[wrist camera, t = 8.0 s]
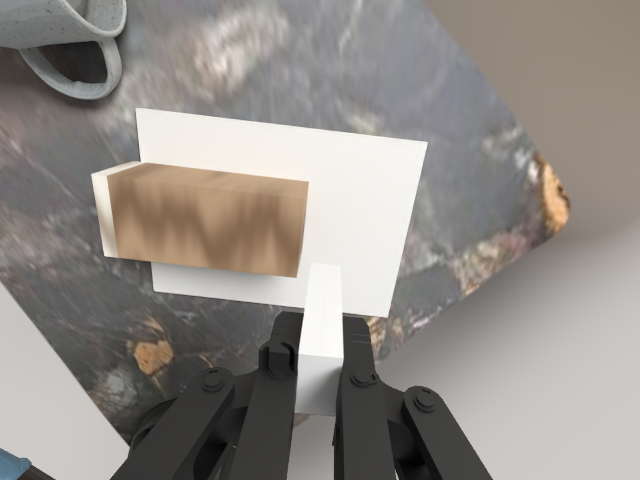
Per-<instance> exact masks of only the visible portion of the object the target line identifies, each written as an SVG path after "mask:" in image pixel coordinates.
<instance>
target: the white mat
mask: <svg viewBox="0 0 640 480" xmlns="http://www.w3.org/2000/svg"><path fill="white" fill-rule="evenodd" d="M136 118H137V128H138V138H139V148H140V158H141V162H147V163H155V164H164V165H172V166H181V167H189V168H198V169H206V170H215V171H223V172H232V173H240V174H248V175H257V176H265V177H274V178H282V179H291V180H299V181H308V182H309V187H308V197H307V207H306V217H305V227H304V237H303V247H302V253H301V258H300V263H299V268H298V273H297V278H291V277H282V276H273V275H265V274H256V273H247V272H239V271H230V270H221V269H212V268H204V267H195V266H186V265H177V264H169V263H160V262H151V267H152V277H153V287H154V291H158V292H166V293H175V294H184V295H193V296H202V297H211V298H219V299H228V300H237V301H246V302H255V303H263V304H272V305H281V306H290V307H299V308H305V304H306V297H307V290H308V283H309V276H310V269H311V263H321V264H331V265H341V294H342V312H343V313H352V314H360V315H369V316H378V317H388V313H389V308H390V304H391V300H392V295H393V291H394V287H395V282H396V278H397V274H398V269H399V265H400V261H401V256H402V252H403V248H404V243H405V239H406V235H407V230H408V226H409V221H410V217H411V213H412V208H413V204H414V200H415V195H416V191H417V187H418V182H419V178H420V174H421V169H422V165H423V161H424V156H425V152H426V148H427V142H421V141H413V140H404V139H396V138H388V137H379V136H371V135H362V134H354V133H346V132H337V131H329V130H320V129H312V128H304V127H295V126H287V125H278V124H270V123H262V122H253V121H245V120H236V119H228V118H220V117H211V116H203V115H194V114H186V113H178V112H169V111H161V110H152V109H144V108H136Z"/></svg>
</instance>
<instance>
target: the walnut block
mask: <svg viewBox="0 0 640 480" xmlns="http://www.w3.org/2000/svg"><path fill="white" fill-rule="evenodd" d="M91 175H92V181H93V188H94V194H95V200H96V206H97V213H98V219H99V225H100V231H101V237H102V244H103V250H104V256H108V257H116V258H125V259H134V260H143V261H151V262H160V263H169V264H177V265H186V266H195V267H204V268H212V269H221V270H230V271H239V272H247V273H256V274H265V275H273V276H282V277H291V278H297V273H298V268H299V263H300V258H301V253H302V247H303V237H304V227H305V217H306V207H307V197H308V187H309V182H308V181H299V180H291V179H282V178H274V177H265V176H257V175H248V174H240V173H232V172H223V171H215V170H206V169H198V168H189V167H181V166H172V165H164V164H155V163H147V162H138V161H132V162H128V163H125V164H122V165H119V166H116V167H112V168H109V169H106V170H103V171H100V172H96V173H93V174H91Z"/></svg>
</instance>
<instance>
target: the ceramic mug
mask: <svg viewBox="0 0 640 480" xmlns="http://www.w3.org/2000/svg"><path fill="white" fill-rule="evenodd" d="M126 15H127V7H126V0H0V47H8V48H15V49H17V50H19V52H20V54H21V56H22V57H23V58H24V60H25V61H26V62H27V64H28V65H29V66H30V67H31V68H32V70H33V71H34V72H35V73H36V74H37V75H38V76H39V77H40V78H41V79H42V80H43V81H45V82H46V83H47V84H48V85H49V86H51V87H52V88H54V89H56V90H58V91H59V92H61V93H63V94H66V95H68V96H70V97H74V98H78V99H85V100H89V99H99V98H103V97H105V96H107V95H108V94H109V93H110V92H111V91H112V90H113V89H114V88H115V87H116V86H117V85H118V84H119V81H120V78H121V75H122V63H121V59H120V55H119V51H118V48H117V45H116V42H115V40H114V37H116V36H117V35H119V34H120V33H121V32H122V30H123V29H124V26H125V23H126ZM91 40H92V41H96V42H97V43H98V44H99V45H100V47H101V49H102V52H103V55H104V59H105V62H106V67H107V72H108V76H107V80H106V83H94V84H90V83H83V82H80V81H76V82H73V81H71V80H69V79H67V78H66V77H65V76H63V75H62V74H60V73H59V72H58V71H57V70H56V69H55V68H54V67H53V66H52V65H51V64H50V63H49V62H48V61H47V59H46V58H45V57H44V56H43V54H42V53H41V51H40V50H39V49H38V46H44V45H51V44H62V43H72V42H85V41H91Z"/></svg>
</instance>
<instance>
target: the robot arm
mask: <svg viewBox="0 0 640 480" xmlns="http://www.w3.org/2000/svg"><path fill="white" fill-rule="evenodd" d="M294 412H295V413H305V414H315V415H325V416H335V413H336V422H335V429H334V436H333V442H332V446H334V480H396V475H395V470H396V473H397V475H398V478H399V480H493V479H492V478H491V476H490V474H489V473H488V471H487V469H486V468H485V466H484V465H483V463H482V462H481V460H480V458H479V457H478V455H477V454H476V452H475V450H474V449H473V447H472V446H471V444H470V442H469V441H468V439H467V438H466V436H465V434H464V433H463V431H462V430H461V428H460V426H459V425H458V423H457V422H456V420H455V419H454V417H453V415H452V414H451V412H450V410H449V409H448V407H447V406H446V404H445V402H444V401H443V399H442V398H441V397H440V396H439V395H438V394H437V393H436V392H434V391H433V390H431V389H429V388H426V387H423V386H414V387H410V388H408V389H407V390H406V391H405V392H402V391H399V390H397V389H394V388H392V387H390V386H388V385H386V384H385V383H384V382H382V381H381V380H380V378H379V375H378V374H377V373H376V371H375V366H374V359H373V352H372V345H371V339H370V332H369V326H368V325H367V323H366V322H365V321H364V319H363V318H355V317H345V316H342V294H341V265H331V264H321V263H311V269H310V276H309V283H308V290H307V297H306V304H305V311H304V313H295V312H285V311H282V312H281V313H280V314H279V315H278V316H277V317H276V318H275V322H274V326H273V329H272V333H271V337H270V341H268V342H266V343H265V344H263V345H262V346H261V348H260V350H259V368H258V369H256V370H255V371H253V372H251V373H248V374H244V375H239V376H233V374H232V373H231V372H230V371H229V370H227V369H225V368H219V367H215V368H209V369H207V370H204V371H202V372H201V373H199V374H198V375H197V376H196V377H195V378H194V379H193V380H192V382H191V383H190V384H189V385H188V386H187V388H186V389H185V390H184V391H183V392H182V394H181V395H180V396H179V397H178V398H177V399H176V400H172V401H168V402H165V403H163V404H161V405H159V406H157V407H155V408H154V409H152V410H151V411H150V412H149V413H148V414H147V415H146V416H145V418H144V419H143V421H142V423H141V425H140V426H139V428H138V430H137V431H136V433H135V435H134V437H133V439H132V442H131V445H130V450H129V454H128V458H127V460H126V461H125V462H124V463H123V464H122V466H121V467H120V468H119V469H118V470H117V472H116V473H115V474H114V475H113V476H112V478H111V479H110V480H286V479H287V471H288V463H289V455H290V447H291V438H292V431H293V421H294ZM0 480H55V479H53V478H52V477H51V476H49V475H47V474H46V473H44V472H42V471H41V470H39V469H38V468H36V467H34V466H33V465H31V462H30V461H29V460H28V459H27V458H18V457H16V456H14V455H12V454H10V453H8V452H7V451H5V450H3V449H1V448H0Z"/></svg>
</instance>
